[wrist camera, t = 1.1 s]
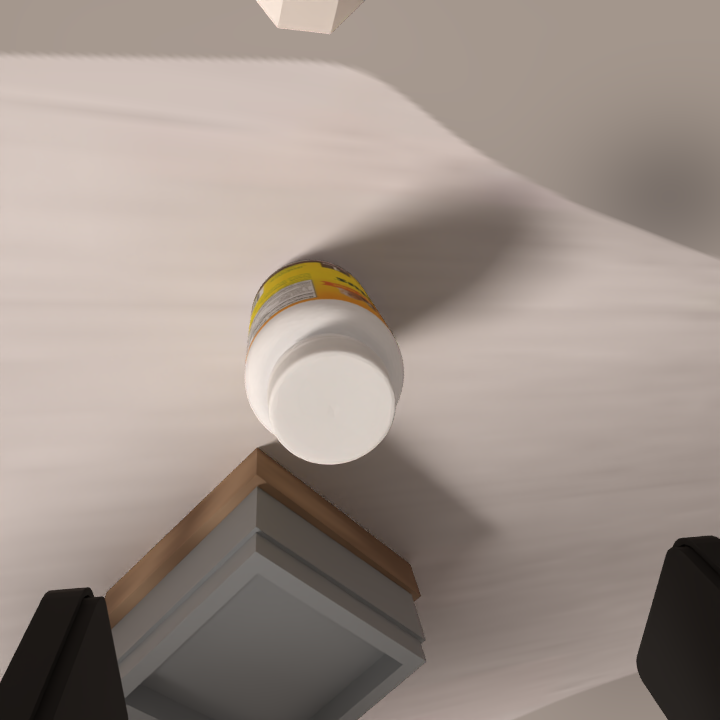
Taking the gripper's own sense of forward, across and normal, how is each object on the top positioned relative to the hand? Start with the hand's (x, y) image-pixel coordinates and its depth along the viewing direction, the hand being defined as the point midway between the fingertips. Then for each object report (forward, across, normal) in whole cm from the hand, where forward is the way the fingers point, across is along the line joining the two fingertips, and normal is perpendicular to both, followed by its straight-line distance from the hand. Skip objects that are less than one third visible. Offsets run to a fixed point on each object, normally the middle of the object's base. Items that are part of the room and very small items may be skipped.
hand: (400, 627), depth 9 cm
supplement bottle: (+19, 0, 0) cm, 19 cm away
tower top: (+16, +3, +16) cm, 23 cm away
